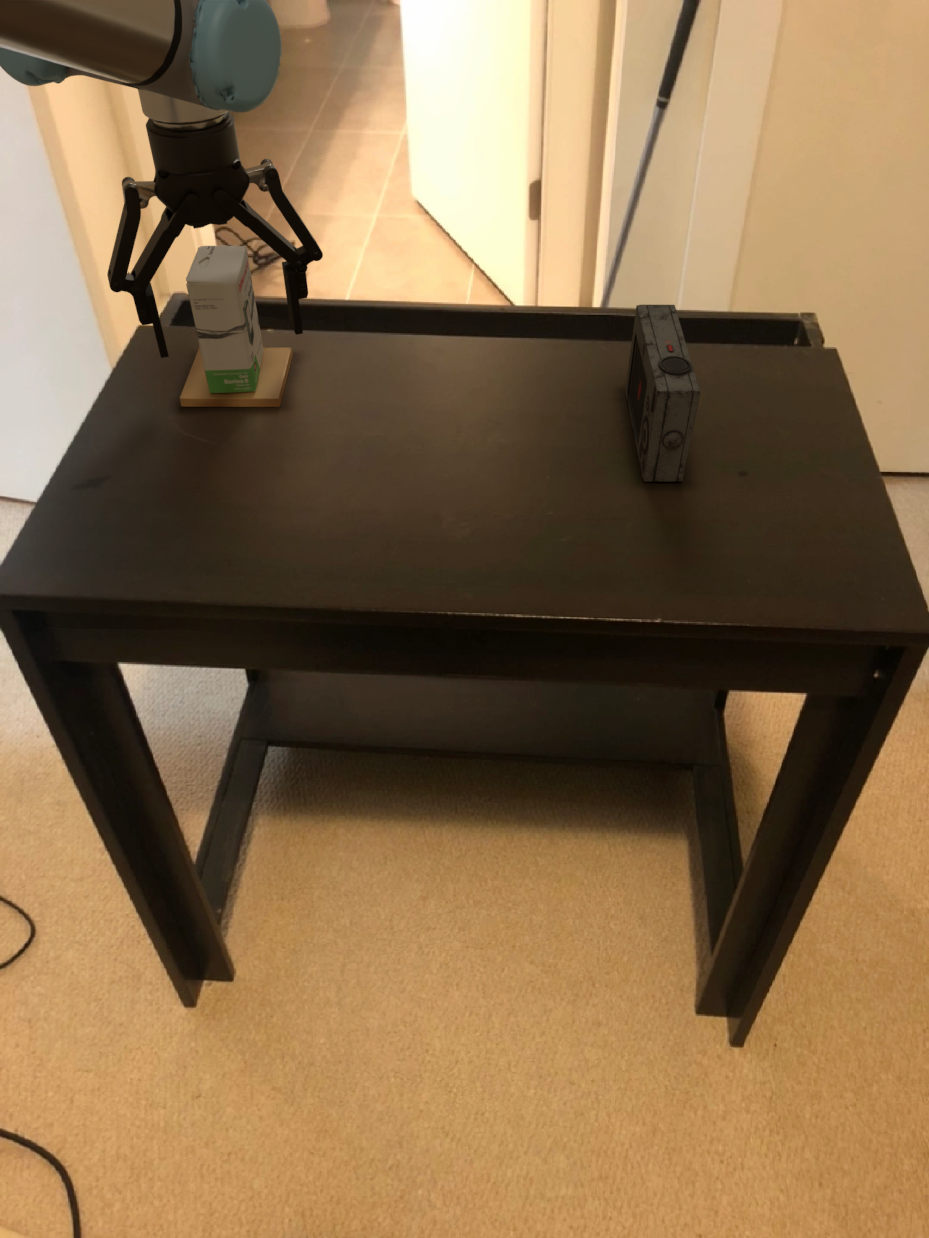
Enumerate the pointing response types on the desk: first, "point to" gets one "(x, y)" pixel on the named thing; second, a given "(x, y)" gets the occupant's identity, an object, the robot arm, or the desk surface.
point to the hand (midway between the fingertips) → (231, 339)
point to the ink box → (225, 318)
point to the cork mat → (265, 395)
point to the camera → (661, 393)
